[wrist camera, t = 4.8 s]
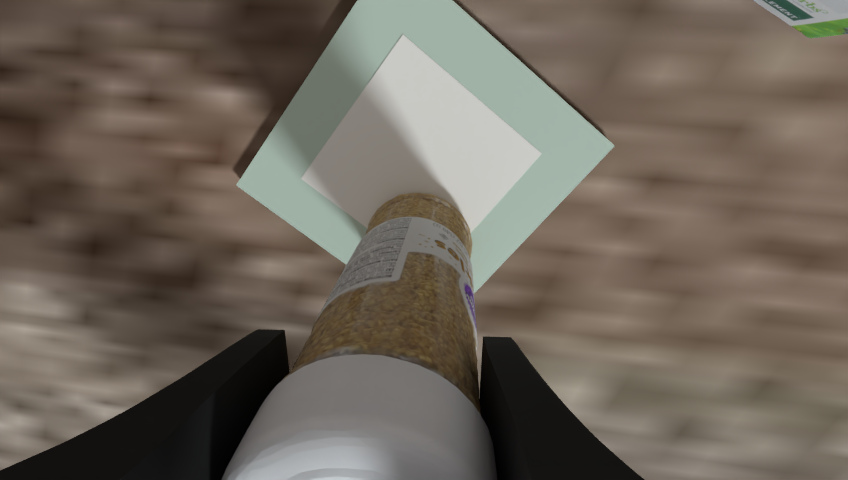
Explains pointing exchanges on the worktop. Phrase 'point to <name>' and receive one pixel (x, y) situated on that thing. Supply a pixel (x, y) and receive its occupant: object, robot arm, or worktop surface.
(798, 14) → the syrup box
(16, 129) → the worktop surface
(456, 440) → the sprinkles bottle
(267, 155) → the green white square tile
